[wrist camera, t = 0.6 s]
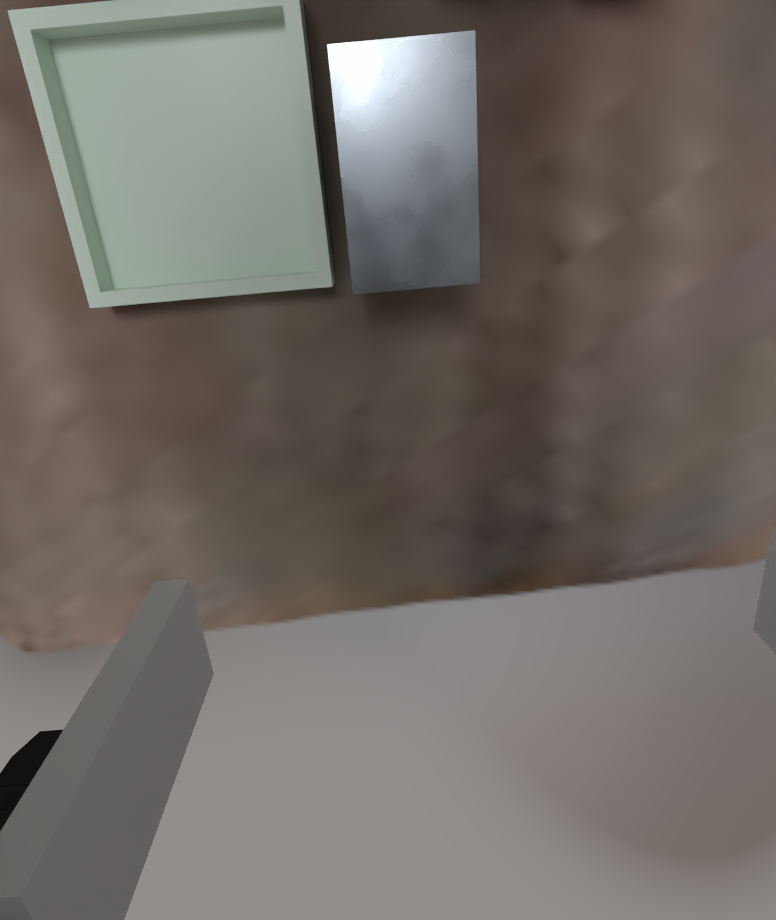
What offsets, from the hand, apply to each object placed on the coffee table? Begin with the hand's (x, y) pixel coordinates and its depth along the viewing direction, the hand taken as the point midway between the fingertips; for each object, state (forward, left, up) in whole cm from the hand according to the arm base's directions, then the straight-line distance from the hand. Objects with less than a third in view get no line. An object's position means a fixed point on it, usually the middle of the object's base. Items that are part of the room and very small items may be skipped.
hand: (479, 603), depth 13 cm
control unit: (-10, 0, -25) cm, 27 cm away
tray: (-12, -11, -25) cm, 30 cm away
